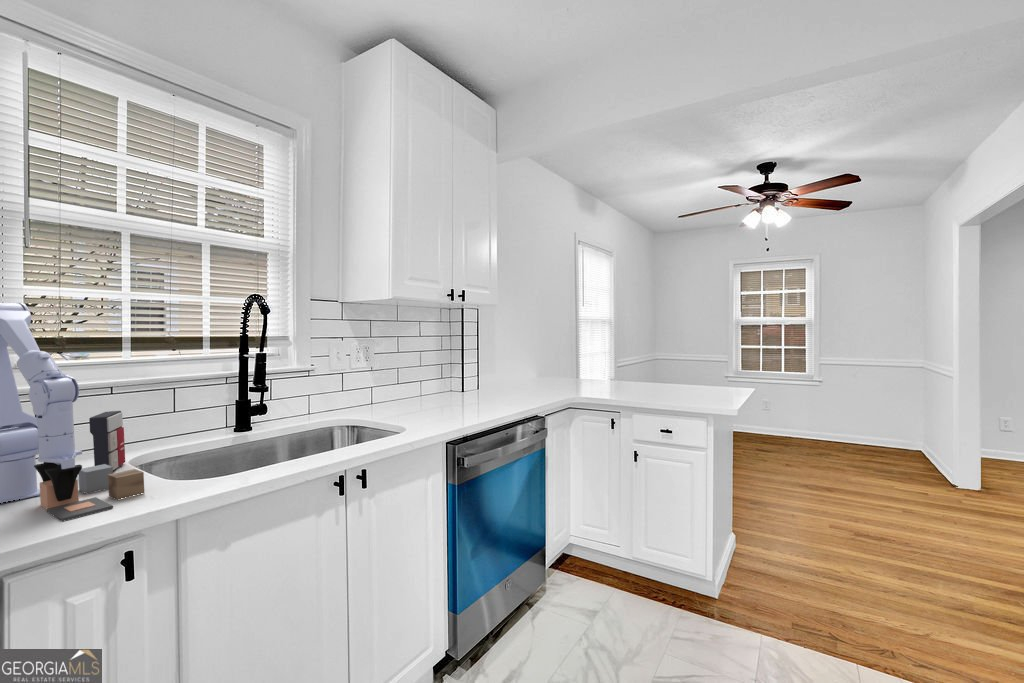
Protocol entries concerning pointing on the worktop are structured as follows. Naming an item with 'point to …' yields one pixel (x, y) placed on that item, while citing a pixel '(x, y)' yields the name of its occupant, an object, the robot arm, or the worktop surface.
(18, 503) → the worktop surface
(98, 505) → the board
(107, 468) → the slate block
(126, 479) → the walnut block
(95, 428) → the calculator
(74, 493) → the terracotta block
